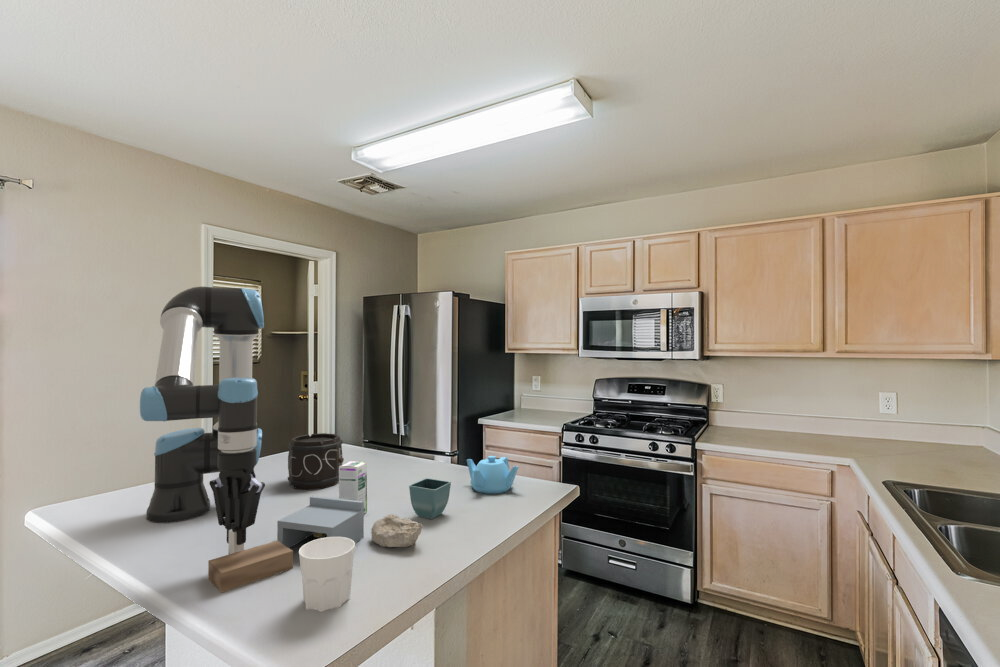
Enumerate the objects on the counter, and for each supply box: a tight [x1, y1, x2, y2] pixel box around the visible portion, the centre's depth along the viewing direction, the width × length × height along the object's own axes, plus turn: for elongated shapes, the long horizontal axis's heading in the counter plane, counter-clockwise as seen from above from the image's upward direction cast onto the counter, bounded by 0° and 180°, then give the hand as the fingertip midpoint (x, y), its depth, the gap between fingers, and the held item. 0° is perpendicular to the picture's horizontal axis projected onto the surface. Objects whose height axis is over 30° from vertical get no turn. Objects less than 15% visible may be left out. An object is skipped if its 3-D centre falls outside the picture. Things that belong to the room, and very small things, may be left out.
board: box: [207, 540, 294, 593], centre depth 103 cm, size 8×14×4 cm, turn 137°
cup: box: [298, 536, 356, 613], centre depth 93 cm, size 10×10×10 cm
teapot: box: [466, 455, 519, 495], centre depth 163 cm, size 15×15×11 cm
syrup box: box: [338, 460, 368, 515], centre depth 138 cm, size 6×6×14 cm
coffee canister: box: [286, 432, 345, 491], centre depth 169 cm, size 18×18×16 cm
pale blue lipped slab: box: [276, 495, 365, 549], centre depth 118 cm, size 15×13×9 cm
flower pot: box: [408, 477, 452, 520], centre depth 138 cm, size 9×9×9 cm
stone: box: [370, 513, 423, 548], centre depth 118 cm, size 8×12×10 cm, turn 60°
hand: (236, 558), depth 106 cm, fingers closed
